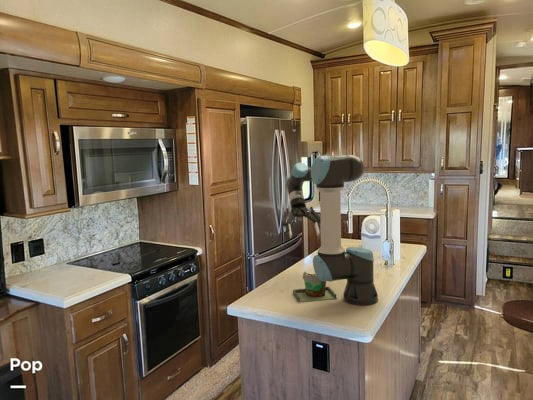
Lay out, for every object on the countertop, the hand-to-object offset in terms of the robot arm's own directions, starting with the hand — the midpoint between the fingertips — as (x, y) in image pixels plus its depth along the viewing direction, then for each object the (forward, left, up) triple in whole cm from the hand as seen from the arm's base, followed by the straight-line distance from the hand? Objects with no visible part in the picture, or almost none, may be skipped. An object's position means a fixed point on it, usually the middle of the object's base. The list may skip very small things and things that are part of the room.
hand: (304, 235), depth 199 cm
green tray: (-12, -1, -26) cm, 29 cm away
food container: (-12, 0, -26) cm, 29 cm away
